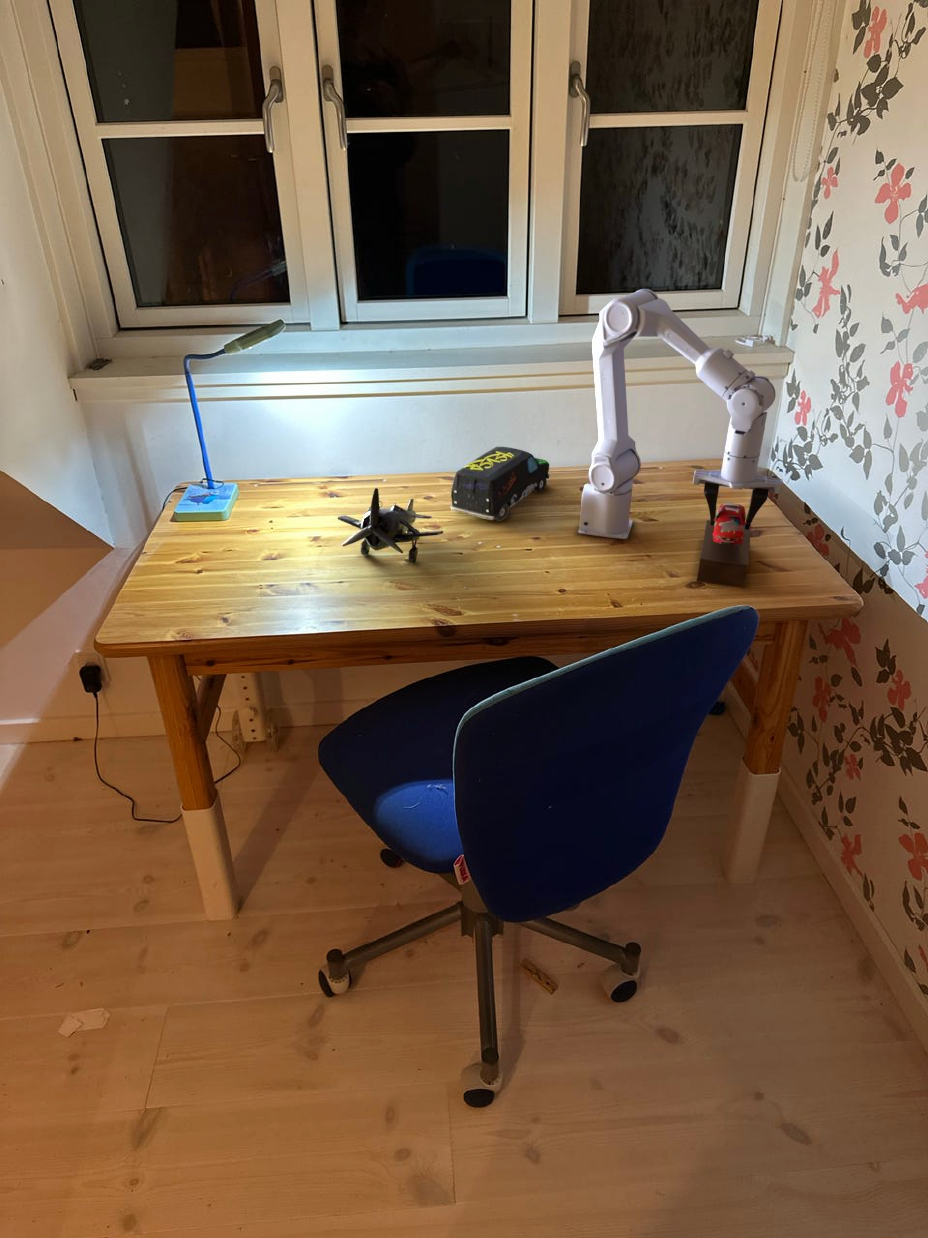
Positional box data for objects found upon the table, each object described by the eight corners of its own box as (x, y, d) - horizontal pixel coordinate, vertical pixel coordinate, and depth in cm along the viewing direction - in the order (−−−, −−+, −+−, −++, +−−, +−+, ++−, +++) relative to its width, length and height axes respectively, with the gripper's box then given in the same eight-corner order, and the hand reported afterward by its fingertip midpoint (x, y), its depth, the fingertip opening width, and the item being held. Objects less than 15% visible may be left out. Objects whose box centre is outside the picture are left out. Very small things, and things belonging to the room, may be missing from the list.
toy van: (551, 485, 183) (553, 441, 177) (493, 528, 165) (493, 481, 160) (508, 475, 187) (509, 432, 182) (448, 516, 170) (447, 470, 165)
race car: (741, 551, 143) (745, 530, 140) (709, 546, 144) (712, 526, 142) (746, 519, 153) (750, 499, 151) (716, 515, 155) (719, 495, 152)
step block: (696, 581, 147) (700, 558, 144) (703, 541, 159) (706, 519, 157) (743, 587, 145) (748, 564, 142) (747, 546, 157) (751, 525, 155)
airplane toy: (323, 566, 153) (314, 489, 144) (368, 522, 168) (363, 450, 160) (424, 584, 147) (421, 504, 139) (462, 537, 162) (461, 463, 154)
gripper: (696, 456, 139) (685, 529, 147) (787, 465, 135) (772, 540, 143) (699, 441, 145) (689, 512, 152) (787, 450, 141) (772, 522, 148)
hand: (729, 525), depth 148 cm, fingers closed on race car, 5 cm apart
